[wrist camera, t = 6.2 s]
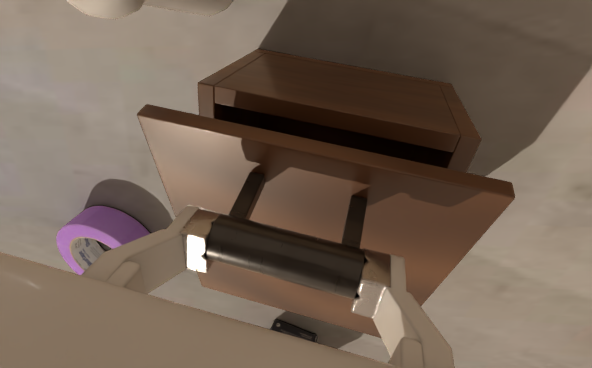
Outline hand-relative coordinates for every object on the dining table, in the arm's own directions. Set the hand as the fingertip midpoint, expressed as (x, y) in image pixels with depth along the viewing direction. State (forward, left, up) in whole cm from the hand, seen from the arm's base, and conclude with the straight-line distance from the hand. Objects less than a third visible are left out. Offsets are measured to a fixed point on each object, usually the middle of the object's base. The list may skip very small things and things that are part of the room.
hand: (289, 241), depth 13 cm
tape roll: (+24, -25, -17) cm, 39 cm away
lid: (+5, 0, -5) cm, 7 cm away
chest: (+5, 0, -17) cm, 18 cm away
